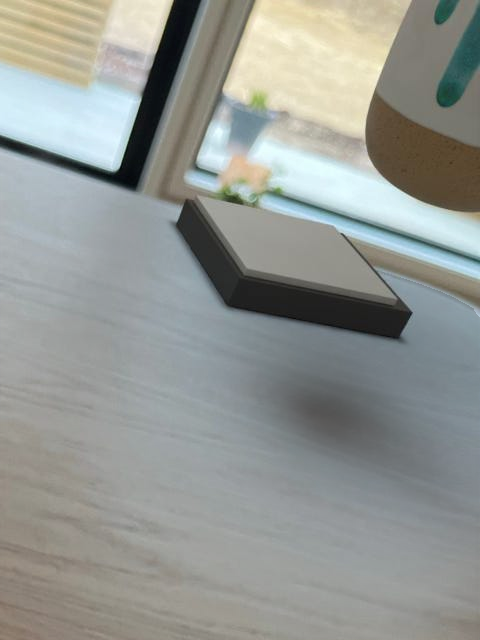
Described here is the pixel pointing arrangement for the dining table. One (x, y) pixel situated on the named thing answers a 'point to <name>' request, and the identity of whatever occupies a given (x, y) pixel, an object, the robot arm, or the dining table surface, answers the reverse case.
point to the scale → (289, 267)
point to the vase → (431, 106)
